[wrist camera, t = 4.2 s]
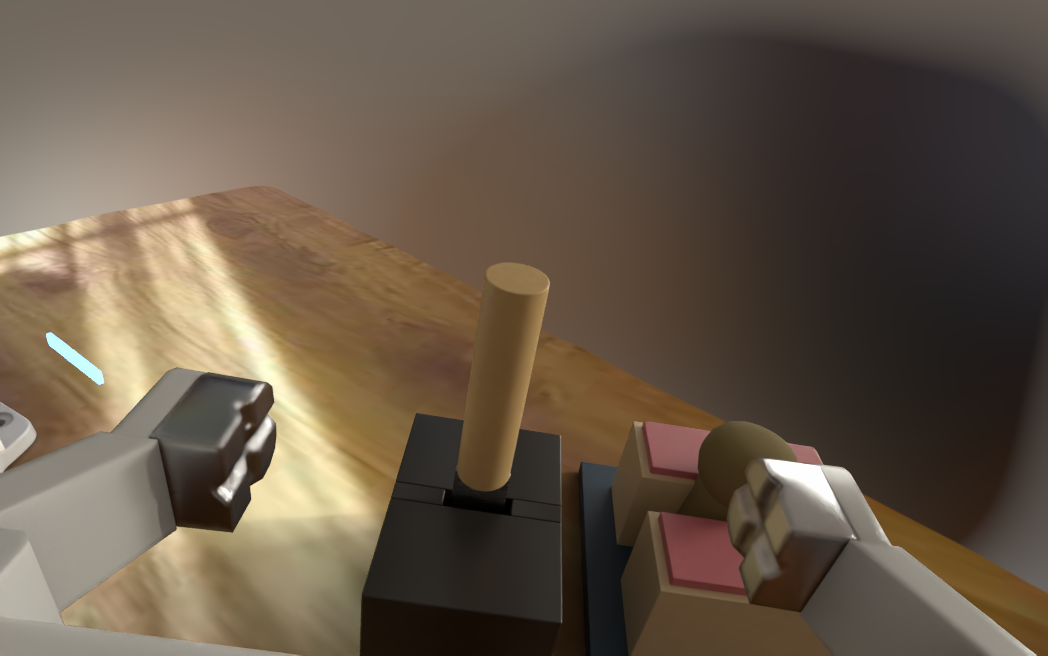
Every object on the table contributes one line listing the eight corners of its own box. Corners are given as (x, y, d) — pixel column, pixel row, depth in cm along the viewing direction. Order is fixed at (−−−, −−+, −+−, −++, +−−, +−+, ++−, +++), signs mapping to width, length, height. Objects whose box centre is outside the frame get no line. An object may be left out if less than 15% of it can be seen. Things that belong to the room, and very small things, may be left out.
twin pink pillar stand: (588, 705, 30) (625, 618, 26) (578, 471, 44) (602, 390, 40) (895, 746, 31) (976, 668, 27) (792, 503, 45) (836, 427, 41)
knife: (431, 631, 32) (480, 287, 21) (439, 590, 34) (486, 257, 23) (478, 637, 32) (551, 299, 21) (483, 596, 34) (551, 268, 23)
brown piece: (628, 565, 38) (681, 433, 32) (678, 516, 42) (734, 391, 36) (713, 638, 34) (790, 506, 29) (759, 577, 38) (834, 451, 33)
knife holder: (357, 710, 28) (360, 595, 24) (406, 522, 38) (416, 412, 33) (526, 733, 29) (562, 624, 24) (533, 540, 38) (561, 434, 33)
